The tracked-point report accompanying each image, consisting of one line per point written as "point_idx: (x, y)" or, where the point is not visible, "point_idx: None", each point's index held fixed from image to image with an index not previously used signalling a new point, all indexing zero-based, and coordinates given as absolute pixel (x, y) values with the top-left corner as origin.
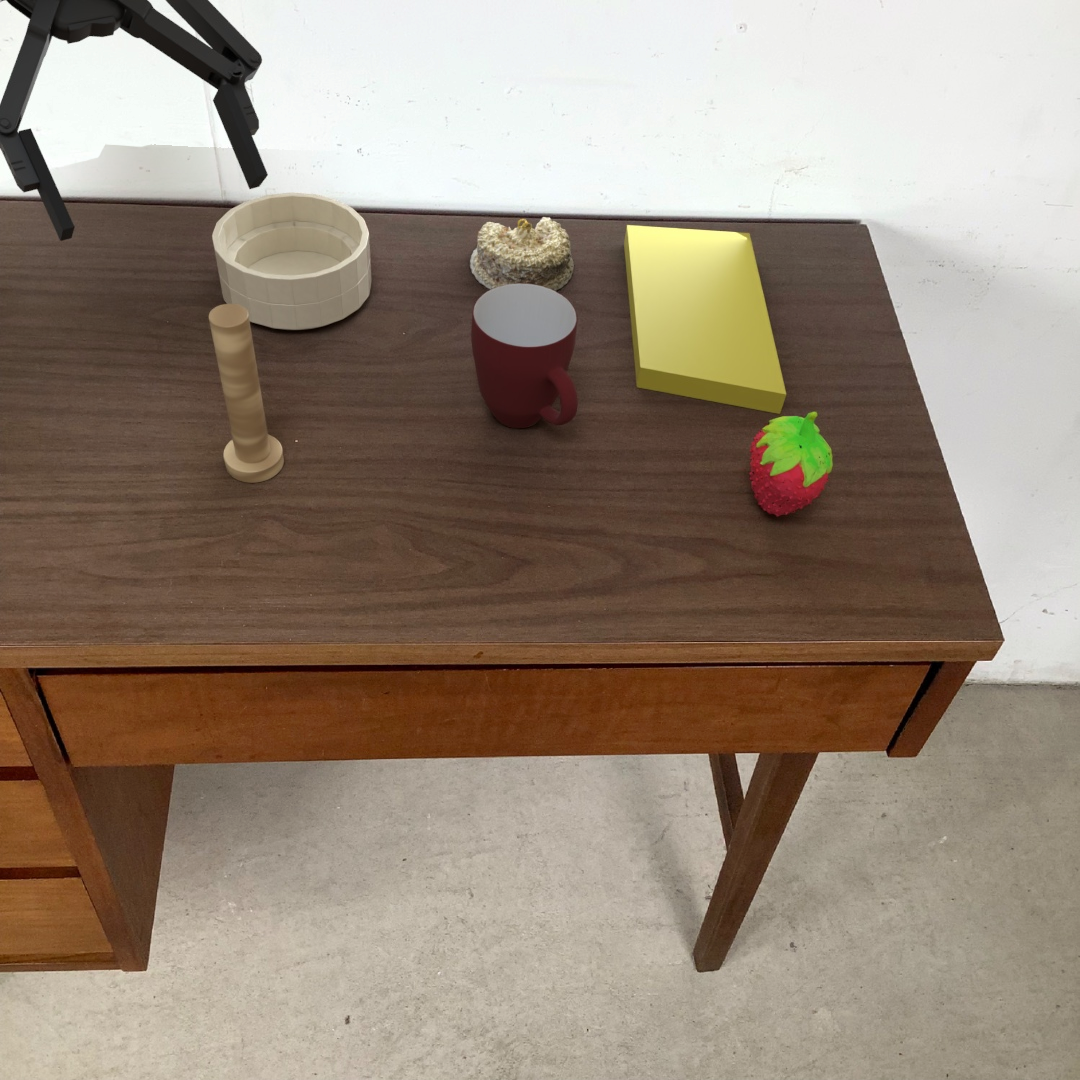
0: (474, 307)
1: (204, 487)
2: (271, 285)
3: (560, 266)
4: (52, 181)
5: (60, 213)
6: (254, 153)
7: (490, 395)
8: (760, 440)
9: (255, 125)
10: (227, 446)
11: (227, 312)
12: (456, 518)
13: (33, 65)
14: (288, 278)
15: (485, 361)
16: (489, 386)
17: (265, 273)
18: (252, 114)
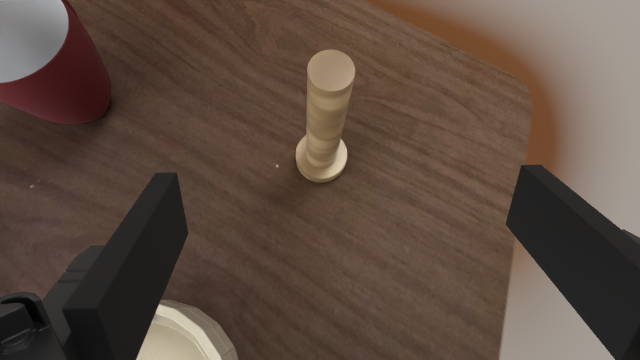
0: (45, 65)
1: (369, 153)
2: (200, 324)
3: None
4: (573, 208)
5: (548, 178)
6: (150, 195)
7: (105, 70)
8: None
9: (94, 250)
10: (338, 170)
11: (330, 75)
12: (211, 33)
13: None
14: (177, 313)
15: (89, 44)
16: (101, 63)
17: (197, 338)
18: (77, 267)
